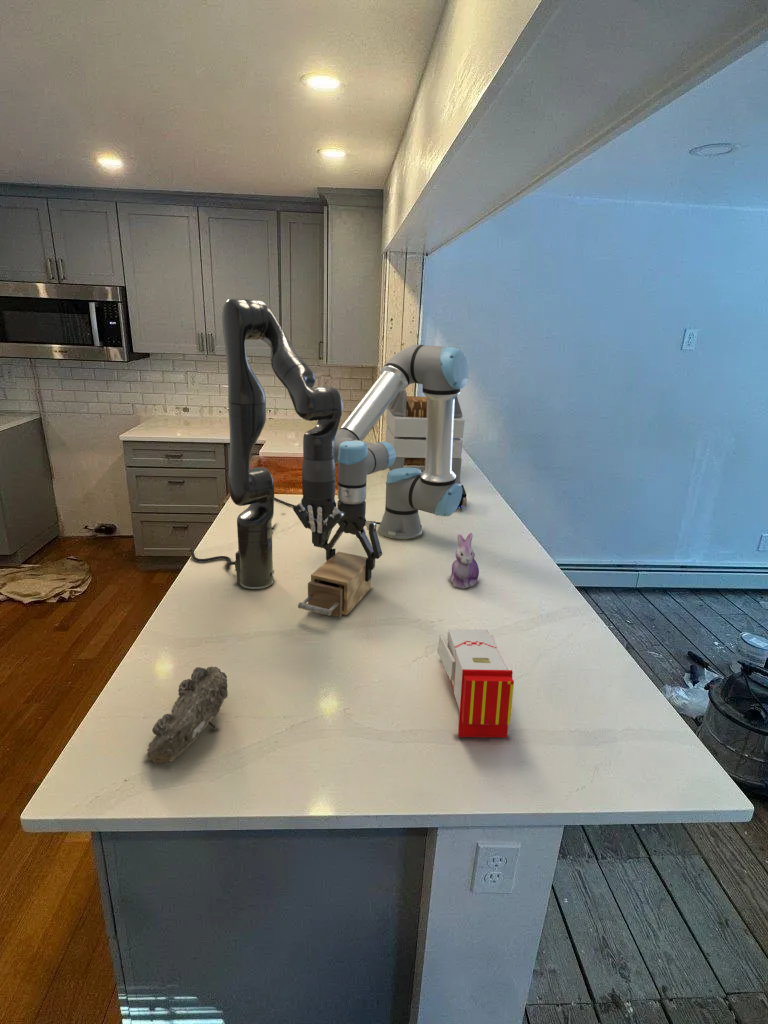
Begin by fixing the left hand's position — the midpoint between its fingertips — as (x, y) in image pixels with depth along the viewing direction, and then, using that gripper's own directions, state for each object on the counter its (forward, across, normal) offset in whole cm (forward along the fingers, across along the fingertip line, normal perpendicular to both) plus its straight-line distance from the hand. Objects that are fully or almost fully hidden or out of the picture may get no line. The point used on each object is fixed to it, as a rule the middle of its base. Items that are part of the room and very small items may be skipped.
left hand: (318, 545), depth 135 cm
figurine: (+21, +28, +38) cm, 52 cm away
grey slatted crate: (+21, -19, +143) cm, 146 cm away
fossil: (+21, -4, -43) cm, 48 cm away
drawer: (+20, 0, +8) cm, 21 cm away
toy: (+21, +41, -12) cm, 48 cm away
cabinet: (+21, 0, +14) cm, 25 cm away
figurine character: (+21, +10, +104) cm, 106 cm away
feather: (+21, -43, +50) cm, 69 cm away
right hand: (+16, 0, +19) cm, 25 cm away
